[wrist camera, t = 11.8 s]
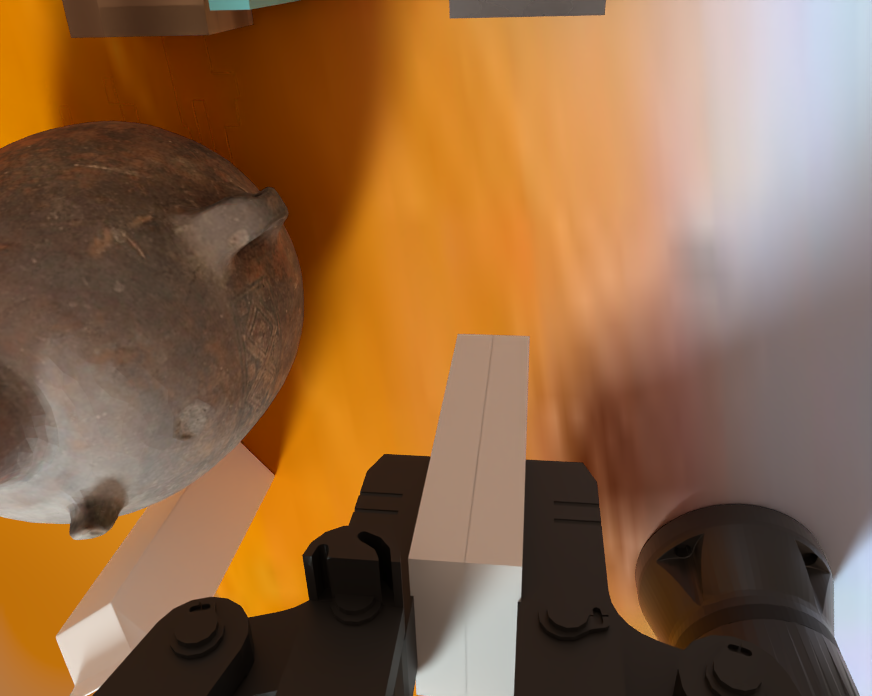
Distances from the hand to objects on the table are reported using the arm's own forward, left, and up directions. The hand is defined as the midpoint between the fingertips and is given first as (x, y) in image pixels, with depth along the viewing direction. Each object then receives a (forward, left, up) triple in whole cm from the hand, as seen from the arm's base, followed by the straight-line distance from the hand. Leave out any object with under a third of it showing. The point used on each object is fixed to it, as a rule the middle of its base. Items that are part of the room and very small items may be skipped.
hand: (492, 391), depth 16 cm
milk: (+25, +30, -35) cm, 52 cm away
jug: (+24, +10, -35) cm, 43 cm away
